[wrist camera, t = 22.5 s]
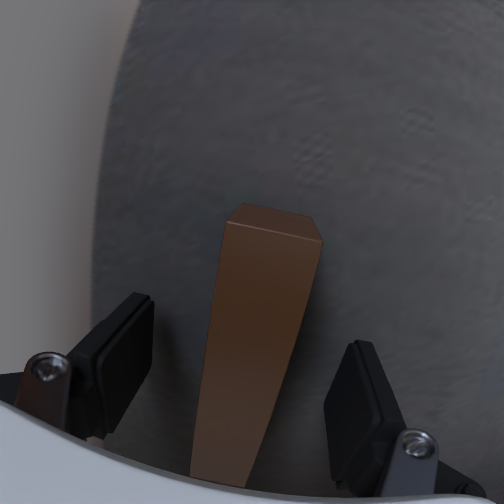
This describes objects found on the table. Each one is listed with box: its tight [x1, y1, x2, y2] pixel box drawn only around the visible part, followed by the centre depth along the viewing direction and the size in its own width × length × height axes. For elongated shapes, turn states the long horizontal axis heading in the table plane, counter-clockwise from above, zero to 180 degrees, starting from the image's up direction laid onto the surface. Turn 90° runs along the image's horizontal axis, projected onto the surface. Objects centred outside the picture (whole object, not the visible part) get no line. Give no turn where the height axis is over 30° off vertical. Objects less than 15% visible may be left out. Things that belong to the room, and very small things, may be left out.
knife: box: [189, 203, 323, 487], centre depth 11 cm, size 21×2×3 cm, turn 169°
